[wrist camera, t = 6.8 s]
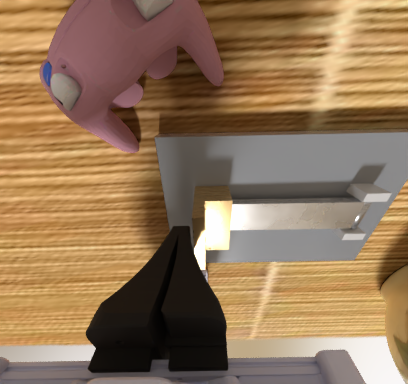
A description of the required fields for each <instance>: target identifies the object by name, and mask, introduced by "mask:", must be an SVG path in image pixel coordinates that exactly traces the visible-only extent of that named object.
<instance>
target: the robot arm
mask: <svg viewBox="0 0 408 384" xmlns="http://www.w3.org/2000/svg"><path fill="white" fill-rule="evenodd" d="M226 328H227V325H226V320H225V316H224V313H223V311H222V308H221V306H220V303H219V301H218V299H217V297H216V296H215V294H214V292H213V291H212V289H211V288H210V286H209V284H208V272H207V270H206V269H205V270H201V268H200V266H199V264H198V261H197V259H196V256H195V253H194V250H193V247H192V243H191V234H190V227H189V226H173V227H172V229H171V231H170V232H169V234H168V236H167V237H166V239H165V240H164V242H163V243H162V245H161V246H160V248H159V249H158V250H157V251H156V253H155V254H154V255H153V257H152V258H151V259H150V260H149V261H148V262H147V264H146V265H145V266H144V267H143V268H142V269H141V270H140V271H139V272H138V273H137V274H136V275H135V276H134V277H133V278H132V279H131V280H130V281H128V282H127V283H126V284H125V285H124V286H123V287H122V288H120V289H119V290H118V291H117V292H115V293H114V294H113V295H112V296H110V297H109V298H108V299H106V300H105V301H104V302H102V303H101V305H100V307H99V308H98V310H97V311H96V313H95V315H94V317H93V319H92V321H91V323H90V325H89V327H88V329H87V331H86V337H87V338H88V340H89V341H90V342H91V343H92V344H93V345H94V346H95V348H96V350H95V352H94V355H93V357H92V359H91V361H61V362H9V360H7V359H5V358H3V357H0V384H366V383H365V382H364V380H363V378H362V376H361V375H360V373H359V371H358V369H357V368H356V366H355V364H354V362H353V361H352V359H351V357H350V355H349V354H348V352H347V351H345V350H323V351H319V352H318V353H317V354H316V356H315V357H283V358H281V357H280V358H228V357H227V347H226V346H227V342H226Z"/></svg>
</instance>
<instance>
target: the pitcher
mask: <svg viewBox="0 0 408 384" xmlns="http://www.w3.org/2000/svg"><path fill="white" fill-rule="evenodd" d="M380 294H381V296H382V298H383V299H384V301H385V302H386V304H387V307H386V313H385V329H386V336H387V341H388V346H389V349H390V352H391V355H392V358H393V360H394V362H395V365H396V367H397V369H398V370H399V372H400V374H401V376H402V378H403V380H404V381H405V383H406V384H408V265H406V266H404V267H402V268H400V269H399V270H397V271H396V272H395V273H393V274H392V275H391V276H390V277H389V278H388V279H387V280H386V281H385V282H384V283H383V285H382V287H381V290H380Z"/></svg>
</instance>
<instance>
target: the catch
mask: <svg viewBox="0 0 408 384" xmlns="http://www.w3.org/2000/svg"><path fill="white" fill-rule="evenodd" d="M232 202H233V200H232V197H231V194H230V190H229V187H228V186H195V191H194V202H193V213H192V224H193V239H194V253H195V256H196V259H197V261H198V264H199V266H200V268H201V270H205V250H229V239H230V227H231V214H232Z"/></svg>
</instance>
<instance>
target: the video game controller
mask: <svg viewBox="0 0 408 384" xmlns="http://www.w3.org/2000/svg"><path fill="white" fill-rule="evenodd" d="M177 46H180V47H182V48H183V49H184V50H185V51H186V52H187V53H188V54H189V55H190V56H191V57H192V58H193V60H194V61H195V63H196V64H197V65H198V67H199V68H200V70H201V71H202V73H203V74H204V75H205V77H206V78H207V79H208V80H209V81H210V82H211V83H212V84H213V85H215V86H220V85H221V84H222V82H223V79H224V71H223V66H222V62H221V59H220V56H219V53H218V50H217V47H216V44H215V41H214V38H213V35H212V32H211V29H210V27H209V24H208V22H207V19H206V17H205V15H204V13H203V11H202V9H201V7H200V5H199V3H198V1H197V0H76V1H75V2H74V3H73V4H72V6H71V7H70V8H69V10H68V11H67V13H66V14H65V16H64V18H63V19H62V21H61V22H60V24H59V25H58V28H57V30H56V32H55V35H54V37H53V39H52V42H51V45H50V47H49V51H48V56H47V59H46V60H44V61H43V63H42V65H41V67H40V79H41V82H42V84H43V86H44V87H45V89H46V90H47V92H48V93H49V95H50V96H51V98H52V100H53V102H54V103H55V104H56V105H57V106H58V108H59V109H60V110H61V111H62V112H63V113H64V114H65V115H66V116H67V117H68V118H69V119H71V120H72V121H73V122H75V123H76V124H78V125H79V126H81V127H82V128H84V129H86V130H88V131H89V132H91V133H93V134H94V135H96V136H98V137H100V138H101V139H103V140H105V141H106V142H108V143H110V144H111V145H113V146H115V147H116V148H118V149H120V150H122V151H125V152H129V153H135V152H137V151H138V150H139V143H138V141H137V139H136V137H135V135H134V134H133V133H132V131H131V130H130V129H129V128H128V127H127V126H126V124H125V123H124V122H123V121H122V120H121V119H120V118H119V117H118V116H117V115H116V114H115V113H113V112H112V111H111V108H113V107H120V108H129V107H132V106H134V105H136V104H137V103H138V102H139V101H140V100H141V98H142V96H143V89H142V87H141V85H140V84H139V82H138V79H139V78H140V77H141V75H142V74H143V73H144V72H145V70H146V71H147V73H148V75H149V76H150V77H152V78H153V79H161V78H164V77H166V76H167V75H169V74H170V73H171V72H172V71H173V70H174V68H175V66H176V64H177Z"/></svg>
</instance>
